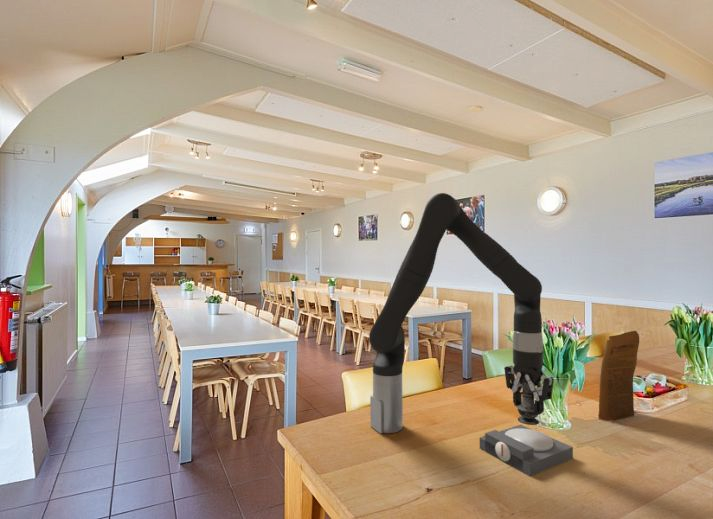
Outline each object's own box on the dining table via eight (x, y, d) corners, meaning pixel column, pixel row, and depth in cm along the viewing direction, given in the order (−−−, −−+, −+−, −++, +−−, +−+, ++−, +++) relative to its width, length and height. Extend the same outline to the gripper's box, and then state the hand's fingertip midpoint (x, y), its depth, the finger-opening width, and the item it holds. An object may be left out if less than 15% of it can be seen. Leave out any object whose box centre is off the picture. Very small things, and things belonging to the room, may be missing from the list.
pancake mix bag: (648, 415, 129) (647, 331, 129) (608, 425, 122) (608, 336, 122) (627, 408, 136) (627, 328, 136) (589, 417, 129) (588, 332, 129)
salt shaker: (542, 426, 102) (542, 380, 102) (519, 424, 103) (518, 379, 103) (537, 417, 108) (536, 374, 108) (514, 415, 109) (514, 373, 109)
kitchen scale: (529, 476, 94) (528, 456, 94) (478, 448, 108) (478, 430, 108) (572, 458, 102) (572, 439, 102) (520, 434, 116) (520, 417, 116)
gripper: (496, 344, 110) (497, 403, 110) (542, 355, 98) (543, 422, 98) (514, 341, 114) (515, 399, 114) (561, 351, 101) (561, 416, 101)
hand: (528, 409), depth 106 cm, fingers closed on salt shaker, 6 cm apart
